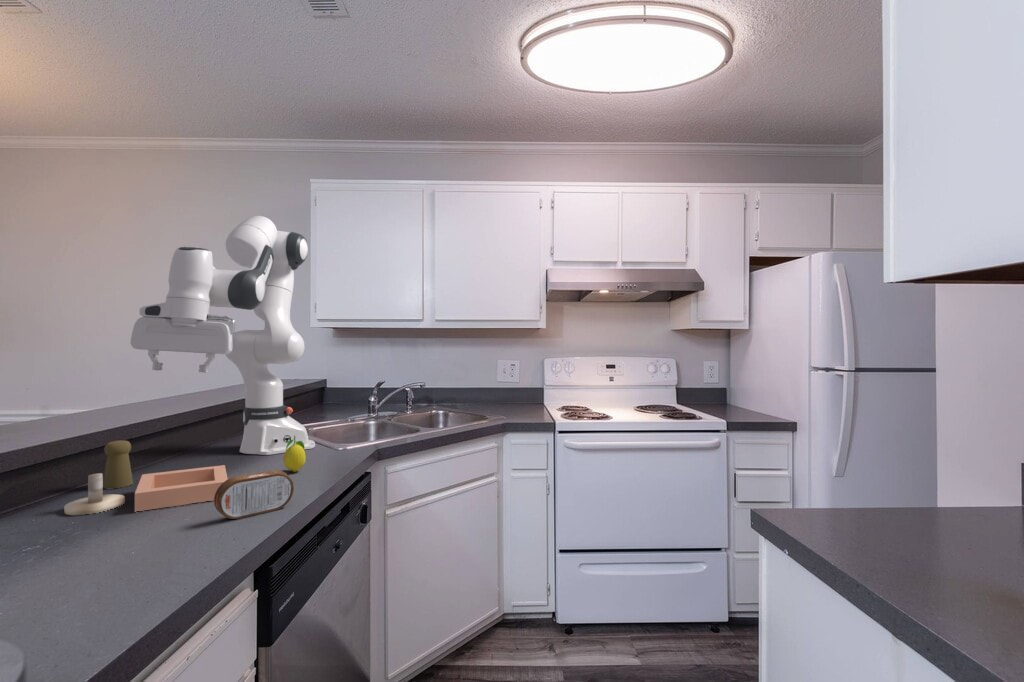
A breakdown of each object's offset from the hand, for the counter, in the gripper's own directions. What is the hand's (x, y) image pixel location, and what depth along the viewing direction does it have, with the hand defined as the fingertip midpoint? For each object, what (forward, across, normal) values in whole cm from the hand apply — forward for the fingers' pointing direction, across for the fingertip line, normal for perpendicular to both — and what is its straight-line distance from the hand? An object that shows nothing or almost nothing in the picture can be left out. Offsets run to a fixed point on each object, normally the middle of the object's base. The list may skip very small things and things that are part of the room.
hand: (180, 371), depth 117 cm
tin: (+30, -22, +16) cm, 40 cm away
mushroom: (+30, +12, +3) cm, 33 cm away
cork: (+29, +15, -14) cm, 35 cm away
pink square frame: (+28, -3, -1) cm, 29 cm away
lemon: (+26, -25, -16) cm, 39 cm away
